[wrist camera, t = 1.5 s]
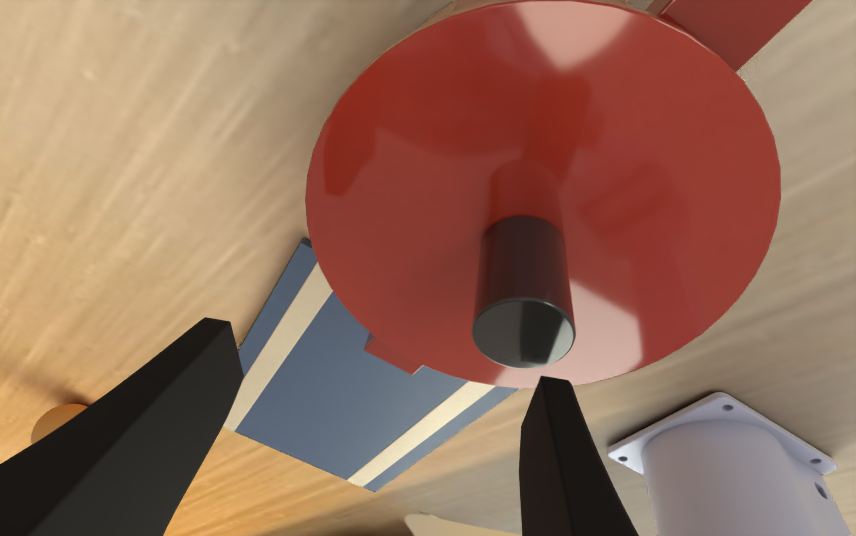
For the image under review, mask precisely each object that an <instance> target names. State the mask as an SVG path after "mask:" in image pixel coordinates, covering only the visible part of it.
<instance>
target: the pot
mask: <svg viewBox="0 0 856 536" xmlns="http://www.w3.org/2000/svg"><path fill="white" fill-rule="evenodd" d="M487 1H491V0H454V1H453V2H451V3H450V4H449V5H447V6H446V7H444V8H443V9H441V10H440V11H438V12H437V13H435V14H434V15H432V16H431V17H430V18H429V19H428V20H427V21H425V22H424V23H423V24H422V25H421V26H423V25H425V24H428V23H430V22H432V21H434V20H436V19H438V18H441V17H443V16H445V15H447V14H449V13H451V12H454V11H457V10H461V9H464V8H467V7H471V6H474V5H477V4H480V3H484V2H487ZM612 1H615V2H619V3H622V4H625V5H628V6H632V5H631V4H629V3H628V2H627V1H626V0H612ZM811 1H812V0H654V1H653V2H652V3H651V5H650V6H649V7H648V8H647V9H646V10H645V11H648V12H650V13H652V14H654V15H657V16H659V17H661V18H663V19H665V20H667V21H669V22H671V23H673V24H675V25H677V26H679V27H681V28H683V29H684V30H686V31H687V32H689V33H690V34H691V35H693V36H694V37H696V38H697V39H698V40H700V41H701V42H703V43H704V44H705V45H707V46H708V47H710V48H711V49H712V50H714V51H715V52H716V53H717V54H718V55H719V56H720V57H721V58H722V59H723V60H724V61H725V62H726V63H727V64H728V65H729V66H730V67H731V68H732V69H733V70H734V71H735V72H737V71H738V70H739V69H740V68H741V67H742V66H743V65H744V64H745V63H746V62H747V61H748V60H749V59H751V58H752V57H753V56H754V55H755V54H756V53H757V52H758V51H759V50H760V49H761V48H762V47H763V46H764V45H765V44H767V43H768V42H769V41H770V40H771V39H772V38H773V37H774V36H775V35H776V34H777V33H778V32H779V31H780V30H781V29H783V28H784V27H785V26H786V25H787V24H788V23H789V22H790V21H791V20H792V19H793V18H794V17H795V16H796V15H797V14H799V13H800V12H801V11H802V10H803V9H804V8H805V7H806V6H807V5H808V4H809V3H810V2H811ZM632 7H633V6H632ZM421 26H420V27H421ZM418 28H419V27H418ZM364 351H366V352H368V353H370V354H372V355H374V356H376V357H378V358H380V359H382V360H384V361H386V362H388V363H390V364H391V365H393V366H395V367H397V368H399V369H401V370H403V371H405V372H407V373H409V374H411V375H414V374H415V373H416V372H417V371H418V370H419V369H420V368H421V367H422V366H423V365H421V364H419V363H417V362H415V361H413V360H411V359H409V358H407V357H405V356H404V355H402V354H400V353H399V352H397V351H395V350H393V349H392V348H390V347H389V346H388V345H386V344H385V343H383V342H382V341H381V340H379V339H378V338H376V337H375V336H374V335H373V334H371V333H369V335H368V338H367V341H366V344H365V347H364Z"/></svg>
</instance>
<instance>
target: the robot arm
mask: <svg viewBox="0 0 856 536" xmlns="http://www.w3.org/2000/svg"><path fill="white" fill-rule="evenodd" d="M243 378H244V374H243V370H242V366H241V362H240V358H239V354H238V350H237V346H236V342H235V338H234V334H233V331H232V327H231V323H230V322H229V321H224V320H218V319H212V318H206V317H205V318H203V319H202V320H201V321H199V322H198V323H197V324H196V325H194V326H193V327H192V328H190V329H189V330H188V331H187V332H185V333H184V334H183V335H182V336H180V337H179V338H178V339H177V340H175V341H174V342H173V343H172V344H170V345H169V346H168V347H167V348H165V349H164V350H163V351H162V352H160V353H159V354H158V355H157V356H155V357H154V358H153V359H152V360H150V361H149V362H148V363H146V364H145V365H144V366H143V367H141V368H140V369H139V370H137V371H136V372H135V373H133V374H132V375H131V376H129V377H128V378H127V379H126V380H124V381H123V382H122V383H120V384H119V385H118V386H116V387H115V388H114V389H112V390H111V391H110V392H108V393H107V394H106V395H104V396H103V397H101V398H100V399H99V400H97V401H96V402H94V403H93V404H92V405H90V406H89V407H87V408H86V409H84V410H83V411H82V412H80V413H79V414H77V415H76V416H75V417H73V418H72V419H70V420H69V421H67V422H66V423H64V424H63V425H61V426H60V427H58V428H57V429H55V430H54V431H52V432H51V433H49V434H48V435H46V436H45V437H43V438H42V439H40V440H39V441H37V442H36V443H34V444H32V445H31V446H29V447H28V448H26V449H24V450H23V451H21V452H20V453H18V454H16V455H15V456H13V457H11V458H10V459H8V460H6V461H5V462H3V463H1V464H0V536H163V535H164V533H165V530H166V528H167V526H168V524H169V522H170V520H171V518H172V516H173V514H174V513H175V511H176V509H177V507H178V505H179V503H180V501H181V500H182V498H183V496H184V494H185V493H186V491H187V489H188V487H189V485H190V484H191V482H192V480H193V478H194V477H195V475H196V473H197V471H198V470H199V468H200V466H201V464H202V462H203V461H204V459H205V457H206V455H207V454H208V452H209V450H210V448H211V446H212V445H213V443H214V441H215V439H216V437H217V436H218V434H219V432H220V430H221V428H222V427H223V425H224V423H225V421H226V419H227V417H228V415H229V413H230V410H231V408H232V406H233V403H234V401H235V399H236V396H237V394H238V391H239V389H240V386H241V383H242V381H243ZM607 453H608V456H609V457H610V458H612V459H613V460H615V461H617V462H619V463H621V464H623V465H625V466H627V467H629V468H631V469H632V470H634V471H636V472H638V473H640V474H642V475H644V476H645V480H646V485H647V490H648V494H649V499H650V504H651V509H652V513H653V518H654V523H655V528H656V533H657V536H852V534H851V532H850V530H849V528H848V526H847V524H846V522H845V520H844V519H843V517H842V515H841V513H840V511H839V509H838V507H837V505H836V503H835V501H834V499H833V497H832V495H831V493H830V491H829V489H828V487H827V485H826V483H825V481H824V479H823V477H822V475H824V474H827V473H830V472H833V471H835V470H836V469H837V464H836V462H835V461H834V459H832V458H830V457H829V456H827V455H826V454H824V453H822V452H821V451H819V450H817V449H816V448H814V447H813V446H811V445H809V444H808V443H806V442H805V441H803V440H801V439H800V438H798V437H796V436H795V435H793V434H792V433H790V432H788V431H787V430H785V429H783V428H782V427H780V426H779V425H777V424H775V423H774V422H772V421H770V420H769V419H767V418H766V417H764V416H762V415H761V414H759V413H757V412H756V411H754V410H753V409H751V408H749V407H748V406H746V405H744V404H743V403H741V402H740V401H738V400H736V399H735V398H733V397H732V396H730V395H728V394H726V393H724V392H716V393H713V394H711V395H709V396H707V397H705V398H703V399H701V400H699V401H697V402H695V403H693V404H691V405H689V406H687V407H685V408H684V409H682V410H680V411H678V412H676V413H674V414H672V415H670V416H668V417H666V418H664V419H662V420H660V421H658V422H656V423H654V424H652V425H651V426H649V427H647V428H645V429H643V430H641V431H639V432H637V433H635V434H633V435H631V436H629V437H627V438H625V439H623V440H621V441H619V442H618V443H616V444H614V445H612V446H610V447H609V448H608V449H607ZM519 481H520V500H521V518H522V536H639V535H638V533H637V532H636V530H635V528H634V526H633V524H632V522H631V520H630V518H629V516H628V514H627V512H626V510H625V508H624V507H623V504H622V502H621V500H620V498H619V496H618V494H617V492H616V490H615V488H614V486H613V484H612V482H611V480H610V477H609V475H608V473H607V471H606V469H605V466H604V464H603V462H602V460H601V458H600V456H599V453H598V451H597V449H596V446H595V444H594V442H593V439H592V437H591V434H590V432H589V429H588V427H587V425H586V422H585V419H584V417H583V414H582V412H581V409H580V406H579V404H578V401H577V398H576V395H575V392H574V389H573V387H572V384H571V383H570V382H569V380H565V379H559V378H553V377H547V376H541V377H540V379H539V382H538V384H537V387H536V390H535V392H534V395H533V397H532V400H531V403H530V405H529V408H528V410H527V413H526V416H525V418H524V421H523V423H522V426H521V441H520V461H519Z"/></svg>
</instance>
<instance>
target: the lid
mask: <svg viewBox="0 0 856 536" xmlns="http://www.w3.org/2000/svg"><path fill="white" fill-rule="evenodd" d="M780 200H781V170H780V163H779V158H778V153H777V149H776V144H775V139H774V136H773V134H772V131H771V129H770V126H769V124H768V122H767V119H766V117H765V115H764V112H763V110H762V108H761V106H760V105H759V103H758V102H757V100H756V99H755V97H754V96H753V94H752V93H751V91H750V90H749V88H748V87H747V85H746V84H745V82H744V81H743V80H742V79H741V78H740V76H739V75H738V74H737V73H736V72H735V71H734V70H733V69H732V68H731V67H730V66H729V65H728V64H727V63H726V62H725V61H724V60H723V59H722V58H721V57H720V56H719V55H718V54H717V53H716V52H715V51H714V50H712V49H711V48H710V47H708V46H707V45H705V44H704V43H703V42H701V41H700V40H698V39H697V38H696V37H694V36H693V35H691V34H690V33H689V32H687V31H686V30H684V29H683V28H681V27H679V26H677V25H675V24H673V23H671V22H669V21H667V20H665V19H663V18H661V17H659V16H657V15H654V14H652V13H650V12H648V11H645V10H642V9H638V8H635V7H632V6H628V5H625V4H622V3H619V2H615V1H612V0H491V1H487V2H484V3H480V4H477V5H474V6H471V7H467V8H464V9H461V10H457V11H454V12H451V13H449V14H447V15H445V16H443V17H441V18H438V19H436V20H434V21H432V22H430V23H428V24H425V25H423V26H421V27H419V28H417V29H416V30H414V31H413V32H411V33H410V34H408V35H407V36H405V37H404V38H402V39H400V40H399V41H397V42H396V43H394V44H393V45H391V46H390V47H388V48H387V49H386V50H385V51H384V52H383V53H382V54H380V55H379V56H378V57H377V58H376V59H375V60H374V61H373V62H371V63H370V64H369V65H368V66H367V67H366V68H365V69H364V70H363V71H362V72H361V73H360V74H359V76H358V77H357V78H356V79H355V80H354V82H353V83H352V84H351V85H350V86H349V88H348V89H347V90H346V91H345V92H344V93H343V95H342V96H341V97H340V98H339V100H338V102H337V103H336V105H335V107H334V108H333V110H332V112H331V113H330V115H329V117H328V118H327V120H326V121H325V123H324V125H323V128H322V130H321V132H320V135H319V137H318V140H317V142H316V145H315V147H314V149H313V153H312V158H311V162H310V166H309V170H308V174H307V185H306V198H305V203H306V216H307V226H308V231H309V235H310V239H311V244H312V248H313V251H314V253H315V256H316V258H317V261H318V264H319V266H320V269H321V271H322V272H323V274H324V276H325V278H326V280H327V282H328V284H329V285H330V287H331V289H332V290H333V292H334V293H335V294H336V296H337V297H338V299H339V300H340V301H341V303H342V304H343V306H344V307H345V308H346V309H347V310H348V311H349V312H350V313H351V314H352V316H353V317H354V318H355V319H356V320H357V321H358V322H359V323H360V324H361V325H362V326H364V327H365V328H366V329H367V330H368V331H369V332H370V333H371V334H373V335H374V336H375V337H376V338H378V339H379V340H381V341H382V342H383V343H385V344H386V345H388V346H389V347H390V348H392V349H393V350H395V351H397V352H399V353H400V354H402V355H404V356H405V357H407V358H409V359H411V360H413V361H415V362H417V363H419V364H421V365H424V366H426V367H428V368H430V369H433V370H436V371H438V372H441V373H444V374H447V375H449V376H453V377H456V378H460V379H464V380H468V381H471V382H476V383H482V384H487V385H493V386H501V387H512V388H536V387H537V384H538V382H539V379H540V377H541V376H547V377H553V378H559V379H565V380H569V382H570V383H571V384H572V386H575V385H582V384H588V383H593V382H597V381H601V380H606V379H610V378H613V377H616V376H620V375H623V374H626V373H629V372H632V371H635V370H637V369H640V368H642V367H644V366H647V365H649V364H651V363H654V362H656V361H658V360H660V359H662V358H664V357H666V356H668V355H669V354H671V353H673V352H675V351H677V350H679V349H680V348H682V347H683V346H685V345H686V344H688V343H689V342H691V341H692V340H694V339H695V338H697V337H698V336H700V335H701V334H702V333H703V332H705V331H706V330H707V329H708V328H709V327H711V326H712V325H713V324H714V323H715V322H716V321H718V320H719V319H720V318H721V317H722V316H723V315H724V314H725V313H726V312H727V311H728V310H729V309H730V307H731V306H732V305H733V304H734V303H735V302H736V301H737V300H738V299H739V298H740V296H741V295H742V294H743V292H744V291H745V289H746V288H747V287H748V285H749V284H750V282H751V281H752V280H753V278H754V277H755V275H756V273H757V271H758V269H759V267H760V265H761V263H762V262H763V260H764V258H765V256H766V254H767V252H768V249H769V246H770V243H771V240H772V237H773V234H774V231H775V228H776V225H777V219H778V213H779V206H780Z"/></svg>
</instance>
